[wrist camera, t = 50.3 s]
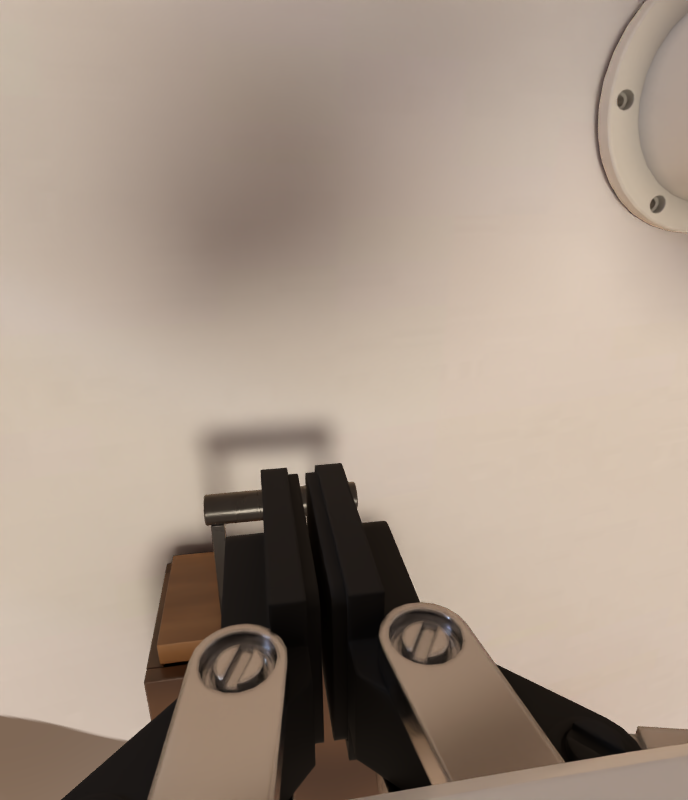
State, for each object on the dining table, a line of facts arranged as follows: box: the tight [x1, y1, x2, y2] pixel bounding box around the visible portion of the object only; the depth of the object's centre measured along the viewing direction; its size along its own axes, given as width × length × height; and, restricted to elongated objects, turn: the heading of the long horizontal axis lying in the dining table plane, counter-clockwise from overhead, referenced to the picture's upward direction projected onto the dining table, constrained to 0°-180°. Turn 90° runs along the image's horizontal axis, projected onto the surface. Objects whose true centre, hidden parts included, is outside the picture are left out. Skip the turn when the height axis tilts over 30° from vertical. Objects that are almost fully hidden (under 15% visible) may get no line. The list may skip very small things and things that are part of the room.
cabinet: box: [144, 564, 379, 800], centre depth 33 cm, size 15×14×9 cm
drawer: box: [157, 482, 358, 665], centre depth 32 cm, size 20×12×7 cm, turn 1°
